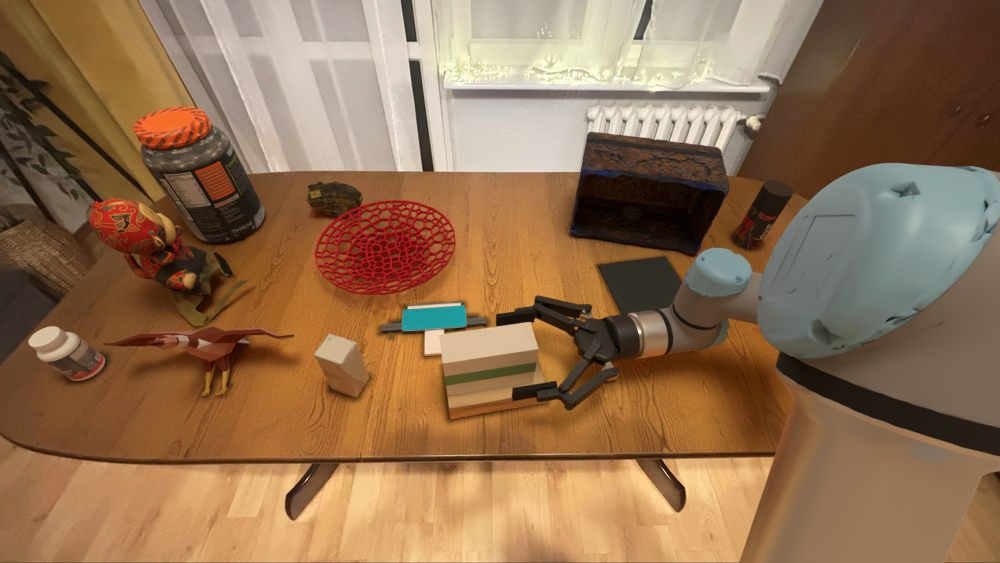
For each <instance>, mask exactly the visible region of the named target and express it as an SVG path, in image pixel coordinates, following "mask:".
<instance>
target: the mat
mask: <svg viewBox="0 0 1000 563" xmlns="http://www.w3.org/2000/svg"><path fill="white" fill-rule="evenodd" d="M597 267H598V269H599V271H600V273H601V275H602V277H603V280H604V281H605V284H606V286H607V287H608V289H609V291H610V293H611V295H612V298H613V299H614V302H615V303H616V306H617V307H618V310H619V312H620V313H621V314H626V315H628V314H629V313H634V312H642V311H649V310H658V309H664V308H669V307H670V306H671V304H672V302H673V300H674V298H675V297H676V295H677V293H678V290H679V288H680V286H681V284H682V282H683V281H682V280H681V278H680V276H679V275H678V274H677V272H676V270H675V269H674V267H673V266H672V264H671V263H670V262H669V260H668V259H667V257H666V255H665V256H657V257H648V258H641V259H634V260H625V261H617V262H609V263H601V264H598V265H597ZM621 314H620V315H621Z"/></svg>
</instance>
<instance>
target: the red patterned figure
mask: <svg viewBox="0 0 1000 563" xmlns="http://www.w3.org/2000/svg"><path fill="white" fill-rule="evenodd" d="M90 207H91V208H90V211H89V214H88V219H89V223H90V226H91V228H92V230H93V232H94V233H95V235H96V236H97V237H98V239H99V240H100V241H101V242H103V243H104V245H106V246H108V247H110V248H111V249H112V250H114V251H116V252H119V253H123V258H124V260H125V261H126V262H127V265H128V266H129V267H130V270H131V271H132V272H133V273H134V274H135V275H136V276H137V277H139V278H141V279H145V280H151V281H154V282H156V283H159V284H160V285H161V286H163V287H164V288H166V289H167V290H168V293H169V297H170V299H171V300H172V302H173V303H174V305H175V307H176V309H177V311H178V313H179V314H181V315H182V316H183V317H184V318H185V319H186V321H187V322H188V323H189V324H191V325H192V326H193V327H201V326H204V325H205V324H207V323H208V322H210V320H212V319H213V318H214V317H215V316H217V314H218V313H219V312H220V311H221V309H223V307H224V306H225V304H226V302H227V301H228V300H229V298H230V297H231V296H232V295H233V294H234V293H235V292H237V290H238V289H240V288H241V287H242V286H244V285H245V284H247V283H248V282H250V281H251V280H252V278H244V279H242V280H239V281H237V282H236V283H235V284H234V285H233V286H232V287H231V288H230V290H229V291H227V292H226V294H225V295H224V296H222V297H221V298H219V299H218V300H217V301H216V303H215V308H214V312H213V314H212V316H211V317H210V318H209V319H208V320H207V321H206V319H207V317H208V315H207V314H205V313H202V312H200V311H198V310H197V309H196V308H197V307H198V305H199V304H200V303H201V302H202V301H203V299H204V296H203V295H211V293H212V289H211V284H210V276H211V275H212V274H213V273H214V272H216V270H218V269H219V270H220V272H221V273H222V274H223V275H224V276H234V273H233V271H232V268H231V267H230V264H229V263H228V261H227V260H226V258H224V257H223V256H222V255H221V254H220V253H218V252H215V251H211V250H206V251H205V250H204V249H201V248H198V247H196V246H192V245H184V242H183V240H182V238H181V235H182V234H183V228H182V227H181V225H177V224H176V225H175V224H174V223H173V221H172V220H171V219H170V218H169V217H168V216H167V215H166V214H163V213H160V212H158V213H157V212H154V210H153V209H151V208H150V207H149V206H147V205H145V204H144V203H142V202H140V201H136V200H133V199H129V198H110V199H107V200H103V201H101V202H99V201H98V200H94V201H93V202H92V203H91V205H90ZM134 255H138V256H139V262H140V264H139V263H138V261H137V260H136V258H135V256H134ZM214 257H215V258H214ZM202 294H203V295H202ZM175 297H176V298H177V299H178V300H175Z"/></svg>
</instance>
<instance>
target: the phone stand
mask: <svg viewBox="0 0 1000 563" xmlns="http://www.w3.org/2000/svg"><path fill="white" fill-rule="evenodd" d="M404 308H405V309H403V310H402V317H401V320H395V321H393V320H392V321H391V322H390V323H382V324H381V327H380V328H381V329H380V331H381V334H389V333H390V334H392V333H407V332H408V333H409V332H414V333H424V357H430V356H431V357H432V356H442V355H441V346H440V337H439V335H442V334H445V331H453V330H455V329H458V328H459V329H460V328H470V327H471V328H474V327H475V328H476V327H484V326H487V325H488V322H487V316H479V315H478V314H477V315H467V308H466V305H464V302H463V300H454V301H442V302H441V301H440V302H439V301H438V302H424V303H411V304H410V303H409V304H406V306H405V307H404ZM478 316H479V317H478Z"/></svg>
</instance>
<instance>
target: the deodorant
mask: <svg viewBox="0 0 1000 563" xmlns="http://www.w3.org/2000/svg"><path fill="white" fill-rule="evenodd" d="M794 194H795V190H794V188H793V187H792V186H791V185H789V184H788V183H786V182H783V181H780V180H776V179H769V180H765V181H764V183H762V185H761V187H760V189H759V190H758V192H757V195H756V196H755V198H754V200H753V201H752V203H751V204H750V206H749V208H748V210H747V212H746V213H745V215H744V217H743V219H742V220H741V222H740V224H739V225H738V227H737V229H736V231H735V233H734V234H733V236H732V240H733V242H734V243H735V244H736V245H737V246H739V247H740V248H742V249H745V250H757V249H758V248H759V247H760V246H761V244H762V243H763V241H764V240H765V238H766V237H767V235H768V233H770V230H772V228H773V226H774V225H775V223H776V221H777V220H778V219H779V217H780V215H781V214H782V212H783V210H784V209H786V208H785V207H786V206H787V205H788V203H789V202H790V200H791V199H792V197H793V195H794Z"/></svg>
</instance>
